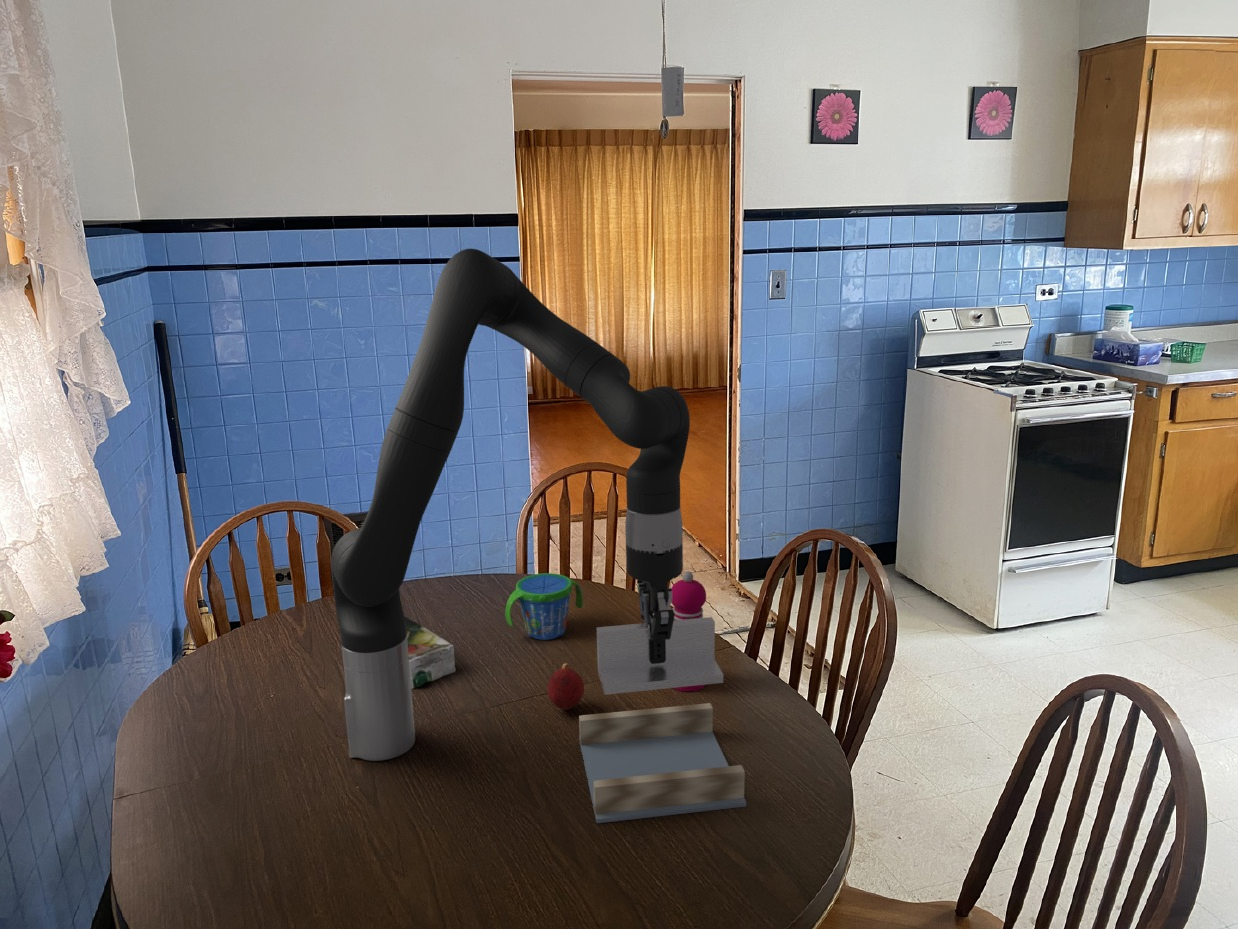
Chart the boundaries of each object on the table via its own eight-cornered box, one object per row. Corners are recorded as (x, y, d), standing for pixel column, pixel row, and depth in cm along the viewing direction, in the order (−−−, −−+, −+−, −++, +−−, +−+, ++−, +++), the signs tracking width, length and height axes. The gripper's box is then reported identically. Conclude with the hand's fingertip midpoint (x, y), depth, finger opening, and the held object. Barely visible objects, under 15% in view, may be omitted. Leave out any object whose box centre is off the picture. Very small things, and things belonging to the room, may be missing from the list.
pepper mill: (660, 689, 150) (659, 577, 145) (674, 670, 156) (674, 561, 151) (701, 696, 147) (702, 582, 142) (714, 677, 154) (715, 567, 149)
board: (596, 823, 116) (596, 819, 116) (579, 739, 135) (578, 736, 135) (746, 806, 119) (746, 802, 119) (708, 726, 138) (708, 723, 138)
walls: (595, 814, 117) (594, 787, 116) (579, 739, 134) (579, 715, 133) (744, 798, 120) (744, 771, 119) (709, 726, 137) (710, 703, 136)
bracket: (604, 694, 117) (603, 647, 115) (597, 673, 123) (596, 627, 121) (723, 682, 120) (723, 635, 118) (711, 662, 125) (711, 617, 124)
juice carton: (462, 673, 157) (459, 641, 155) (412, 694, 150) (409, 660, 149) (401, 639, 171) (398, 609, 169) (354, 656, 164) (350, 625, 163)
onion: (579, 721, 140) (578, 674, 138) (543, 717, 142) (542, 671, 140) (588, 702, 146) (587, 657, 144) (554, 699, 147) (552, 654, 145)
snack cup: (516, 652, 164) (513, 600, 161) (498, 630, 173) (495, 581, 170) (594, 635, 170) (593, 585, 167) (573, 614, 179) (571, 567, 177)
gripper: (617, 525, 124) (620, 639, 129) (635, 559, 111) (638, 686, 116) (670, 521, 126) (671, 634, 130) (694, 554, 113) (694, 680, 117)
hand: (656, 658), depth 123 cm, fingers closed on bracket, 1 cm apart
